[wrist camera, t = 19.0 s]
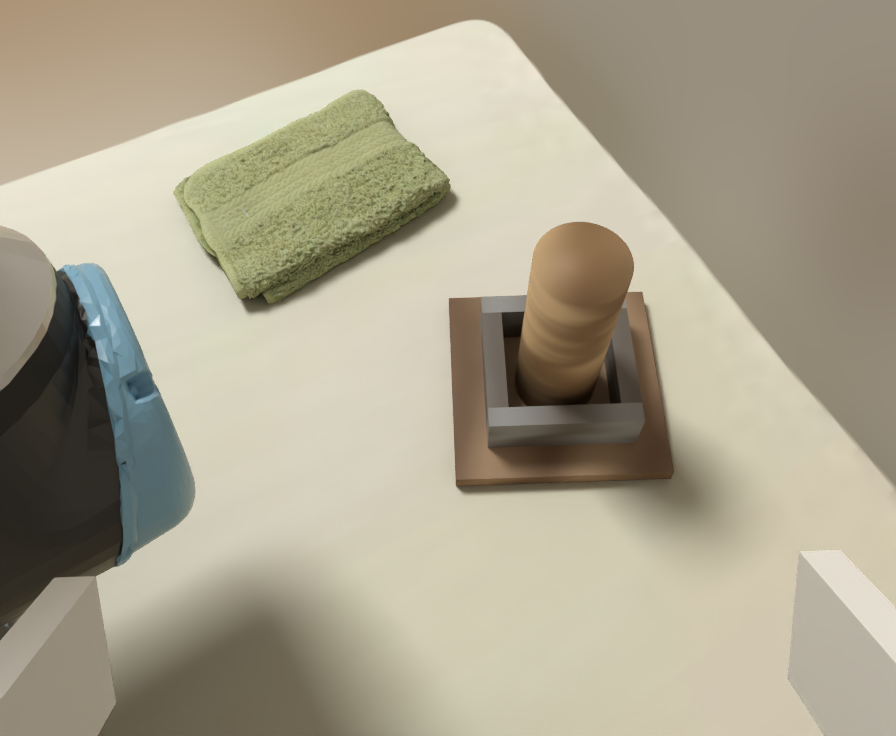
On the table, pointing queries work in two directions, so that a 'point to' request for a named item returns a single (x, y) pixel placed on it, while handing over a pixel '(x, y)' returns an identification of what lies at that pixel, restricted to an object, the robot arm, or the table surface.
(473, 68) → the table surface
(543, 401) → the oak pin
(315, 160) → the washcloth
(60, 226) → the table surface
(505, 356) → the socket board
